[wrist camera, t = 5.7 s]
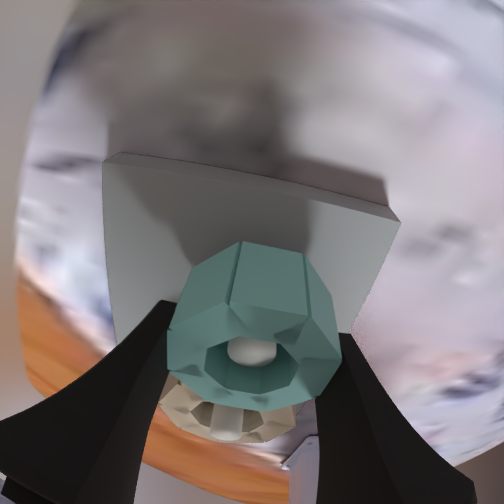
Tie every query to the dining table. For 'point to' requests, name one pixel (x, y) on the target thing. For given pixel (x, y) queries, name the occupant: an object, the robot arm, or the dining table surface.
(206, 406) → the tan octagonal nut
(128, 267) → the board
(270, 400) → the teal octagonal nut
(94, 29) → the dining table surface
